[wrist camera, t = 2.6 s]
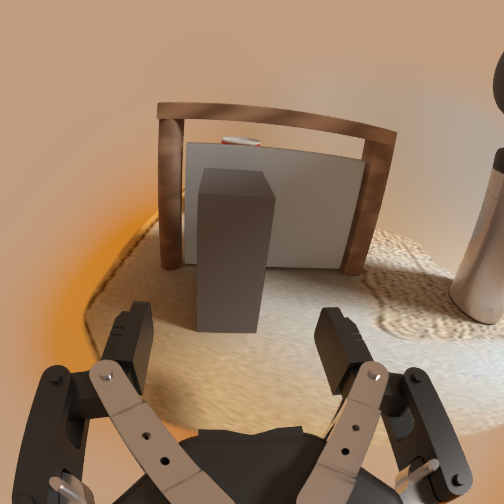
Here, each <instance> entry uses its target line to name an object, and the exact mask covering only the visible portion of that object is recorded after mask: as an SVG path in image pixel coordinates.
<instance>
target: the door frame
mask: <svg viewBox="0 0 504 504" xmlns="http://www.w3.org/2000/svg"><path fill="white" fill-rule="evenodd" d="M157 119H159V142H158V208H159V235H160V253H161V266H162V267H163V268H164V269H167V270H175V269H178V268H180V267H181V266H182V160H183V159H182V158H183V136H184V119H210V120H230V121H244V122H255V123H266V124H275V125H284V126H292V127H299V128H306V129H313V130H320V131H325V132H332V133H338V134H343V135H348V136H353V137H358V138H363V139H365V143H364V149H363V154H362V159H361V160H362V161H364V162H365V167H364V172H363V177H362V182H361V186H360V191H359V195H358V200H357V204H356V208H355V212H354V216H353V220H352V225H351V228H350V232H349V236H348V240H347V244H346V248H345V251H344V255H343V259H342V262H341V266H340V270H341V272H342V274H343V275H361V272H362V269H363V266H364V263H365V260H366V256H367V253H368V250H369V247H370V243H371V240H372V237H373V233H374V230H375V226H376V222H377V219H378V215H379V211H380V207H381V204H382V200H383V195H384V191H385V187H386V183H387V179H388V175H389V170H390V166H391V161H392V156H393V151H394V146H395V141H396V136H397V132H394V131H391V130H388V129H384V128H380V127H376V126H372V125H368V124H364V123H359V122H354V121H350V120H345V119H340V118H335V117H330V116H324V115H319V114H313V113H306V112H300V111H292V110H286V109H278V108H269V107H260V106H249V105H237V104H221V103H197V102H162V103H158V106H157Z"/></svg>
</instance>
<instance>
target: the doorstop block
mask: <svg viewBox="0 0 504 504" xmlns="http://www.w3.org/2000/svg"><path fill="white" fill-rule="evenodd" d="M275 202H276V197H275V195H274V193H273V191H272V189H271V187H270V185H269V183H268V181H267V179H266V178H265V176H264V174H263V172H262V171H252V170H237V169H220V168H204V170H203V174H202V178H201V183H200V187H199V191H198V206H197V332H212V333H256V331H257V324H258V318H259V311H260V305H261V298H262V292H263V285H264V278H265V272H266V265H267V258H268V251H269V244H270V237H271V230H272V223H273V216H274V209H275Z"/></svg>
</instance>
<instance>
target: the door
mask: <svg viewBox="0 0 504 504" xmlns="http://www.w3.org/2000/svg"><path fill="white" fill-rule="evenodd" d="M364 167H365V162H364V161H362V160H360V159H354V158H348V157H342V156H336V155H329V154H322V153H315V152H307V151H299V150H291V149H281V148H272V147H262V146H250V145H236V144H219V143H193V142H188V143H187V144H186V170H185V264H197V206H198V191H199V187H200V183H201V178H202V174H203V170H204V168H220V169H237V170H252V171H262V172H263V174H264V176H265V178H266V179H267V181H268V183H269V185H270V187H271V189H272V191H273V193H274V195H275V197H276V202H275V209H274V216H273V223H272V230H271V237H270V244H269V251H268V258H267V265H266V267H296V268H335V269H340V266H341V262H342V259H343V255H344V251H345V248H346V244H347V240H348V236H349V232H350V228H351V225H352V220H353V216H354V212H355V208H356V204H357V200H358V195H359V191H360V186H361V182H362V177H363V172H364Z"/></svg>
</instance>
